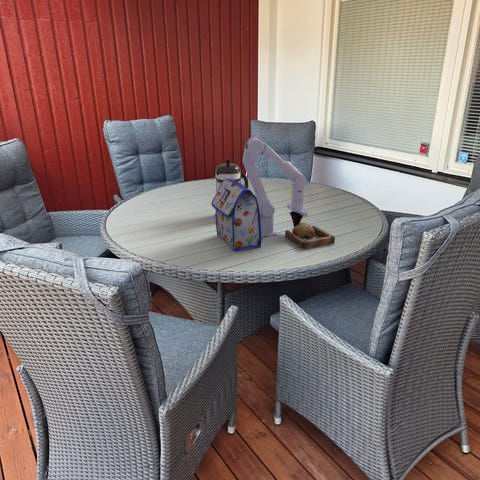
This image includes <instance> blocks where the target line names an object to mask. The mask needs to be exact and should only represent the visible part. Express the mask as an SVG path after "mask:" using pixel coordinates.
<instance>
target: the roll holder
mask: <svg viewBox="0 0 480 480" xmlns="http://www.w3.org/2000/svg"><path fill="white" fill-rule="evenodd" d="M311 227H312V228H313V229H314V231H315V236H318V238H312V239H307V240H303V239H301V238H299V237H298V236H296V235H295V234H293V233H292V231H290V230H288V229H287V230H284V231H285V233H284V237H285V238H286V239H287V240H289V241H290V242H292V243H293V244H295V245H296V246H298V247H299V248H301V249H302V250H307V249H311V248H317V247H322V246H327V245H330V244H335V240H336V236H335V235H333V234H330V233H329V232H327V230H324V229H322V228H320V227H318V226H316V225H311Z"/></svg>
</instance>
